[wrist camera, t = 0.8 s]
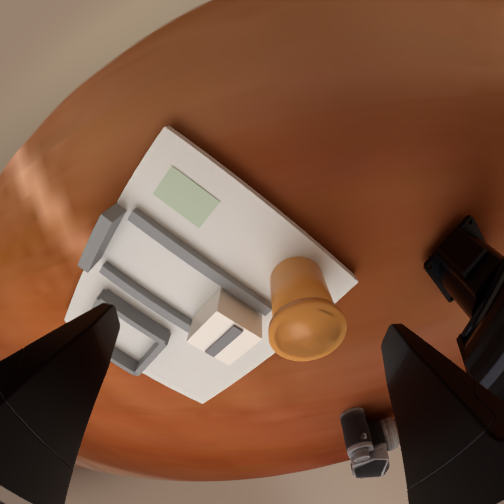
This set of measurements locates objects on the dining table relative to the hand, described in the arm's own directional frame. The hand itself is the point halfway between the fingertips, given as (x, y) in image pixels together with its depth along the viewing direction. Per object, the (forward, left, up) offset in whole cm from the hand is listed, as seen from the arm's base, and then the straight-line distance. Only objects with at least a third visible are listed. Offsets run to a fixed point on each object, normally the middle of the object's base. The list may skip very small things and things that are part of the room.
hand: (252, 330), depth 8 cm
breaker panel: (-1, +10, -13) cm, 16 cm away
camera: (-35, +14, -13) cm, 39 cm away
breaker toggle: (-4, +8, -11) cm, 15 cm away
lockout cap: (-6, +2, -12) cm, 13 cm away
